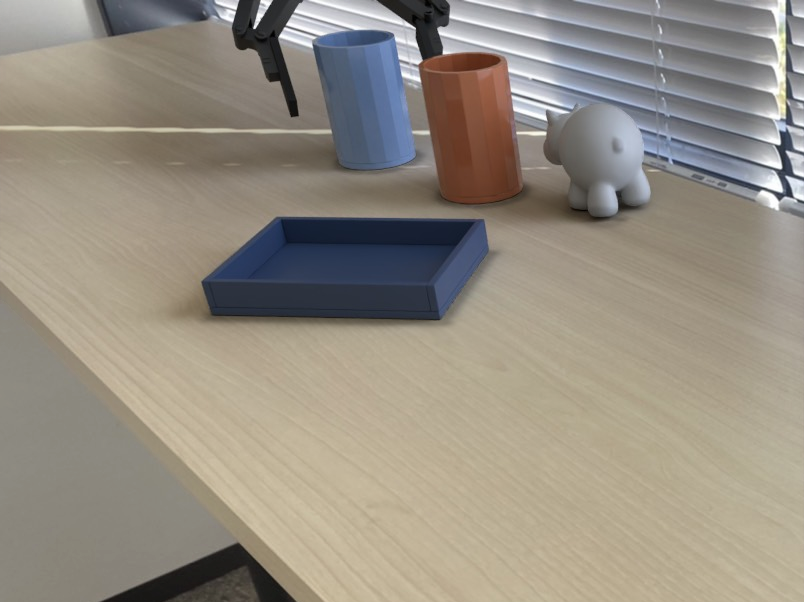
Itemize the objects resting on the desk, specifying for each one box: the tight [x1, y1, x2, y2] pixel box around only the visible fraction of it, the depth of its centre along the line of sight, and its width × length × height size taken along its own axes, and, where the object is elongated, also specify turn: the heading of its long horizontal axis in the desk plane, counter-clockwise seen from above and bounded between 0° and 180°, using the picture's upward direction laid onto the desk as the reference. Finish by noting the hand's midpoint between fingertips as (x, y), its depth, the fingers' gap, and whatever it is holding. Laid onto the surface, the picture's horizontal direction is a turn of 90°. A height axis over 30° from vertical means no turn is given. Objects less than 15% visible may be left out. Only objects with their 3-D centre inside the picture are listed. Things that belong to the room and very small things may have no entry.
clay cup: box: [417, 51, 524, 205], centre depth 102 cm, size 7×7×11 cm
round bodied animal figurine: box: [542, 102, 651, 218], centre depth 100 cm, size 7×12×8 cm, turn 39°
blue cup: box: [311, 29, 417, 171], centre depth 110 cm, size 7×7×11 cm
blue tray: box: [200, 216, 490, 320], centre depth 88 cm, size 17×13×3 cm
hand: (367, 99), depth 110 cm, fingers open, 13 cm apart
